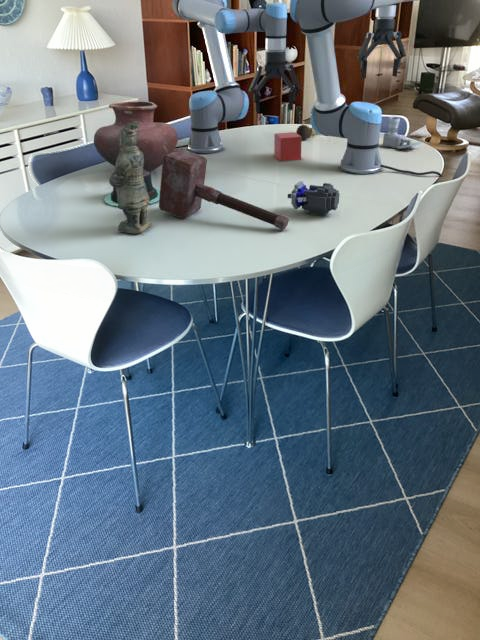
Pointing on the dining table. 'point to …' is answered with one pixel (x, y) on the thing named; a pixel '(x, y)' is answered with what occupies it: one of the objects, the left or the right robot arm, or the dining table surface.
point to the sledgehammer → (200, 190)
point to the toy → (315, 198)
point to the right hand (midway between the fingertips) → (379, 77)
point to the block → (287, 146)
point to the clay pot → (137, 134)
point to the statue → (131, 182)
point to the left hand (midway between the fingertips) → (274, 110)
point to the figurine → (305, 131)
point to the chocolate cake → (152, 192)
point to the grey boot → (396, 136)
